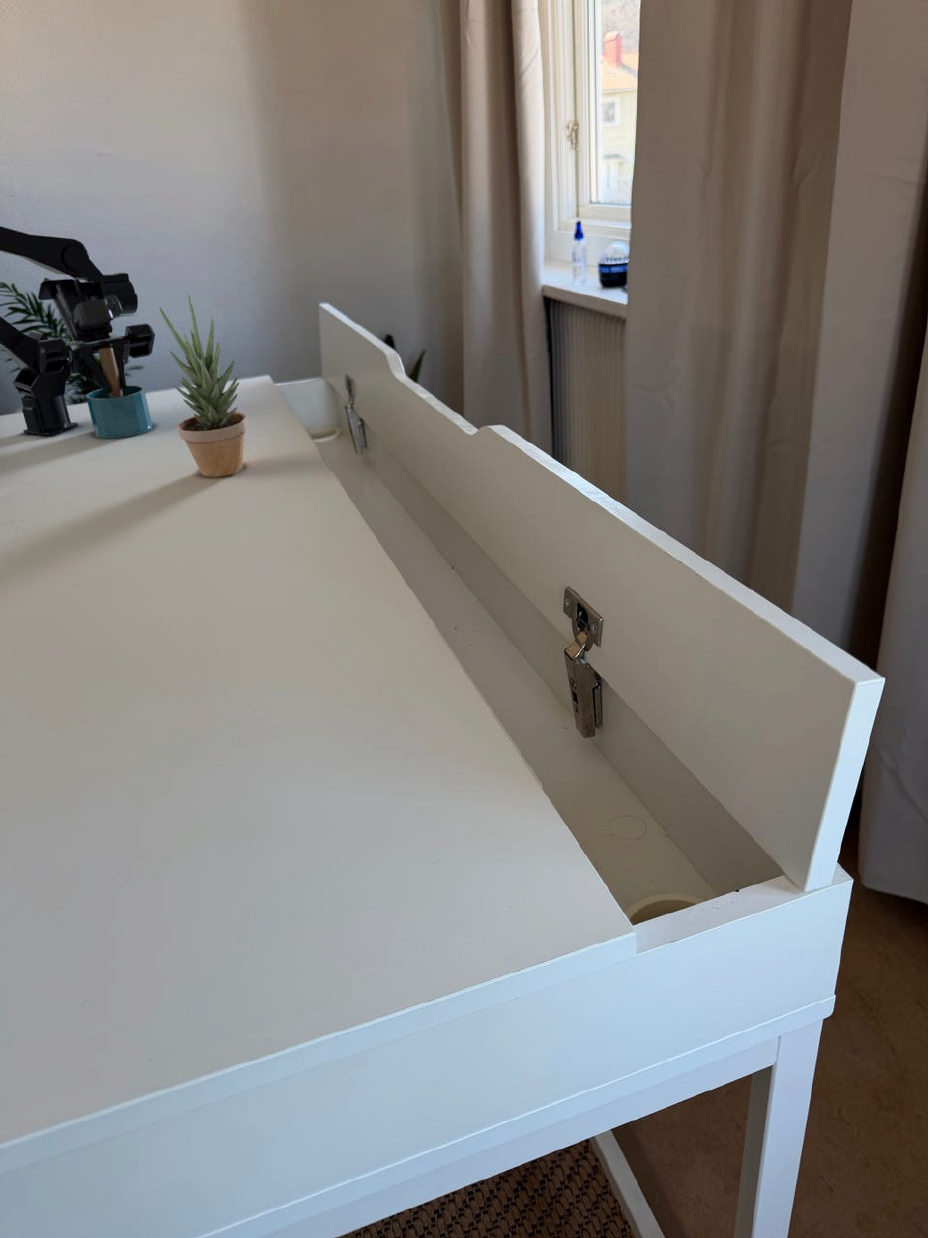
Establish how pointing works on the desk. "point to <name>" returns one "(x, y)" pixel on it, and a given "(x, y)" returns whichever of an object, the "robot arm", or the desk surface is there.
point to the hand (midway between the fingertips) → (117, 389)
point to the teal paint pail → (119, 413)
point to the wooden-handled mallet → (111, 372)
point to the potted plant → (209, 406)
